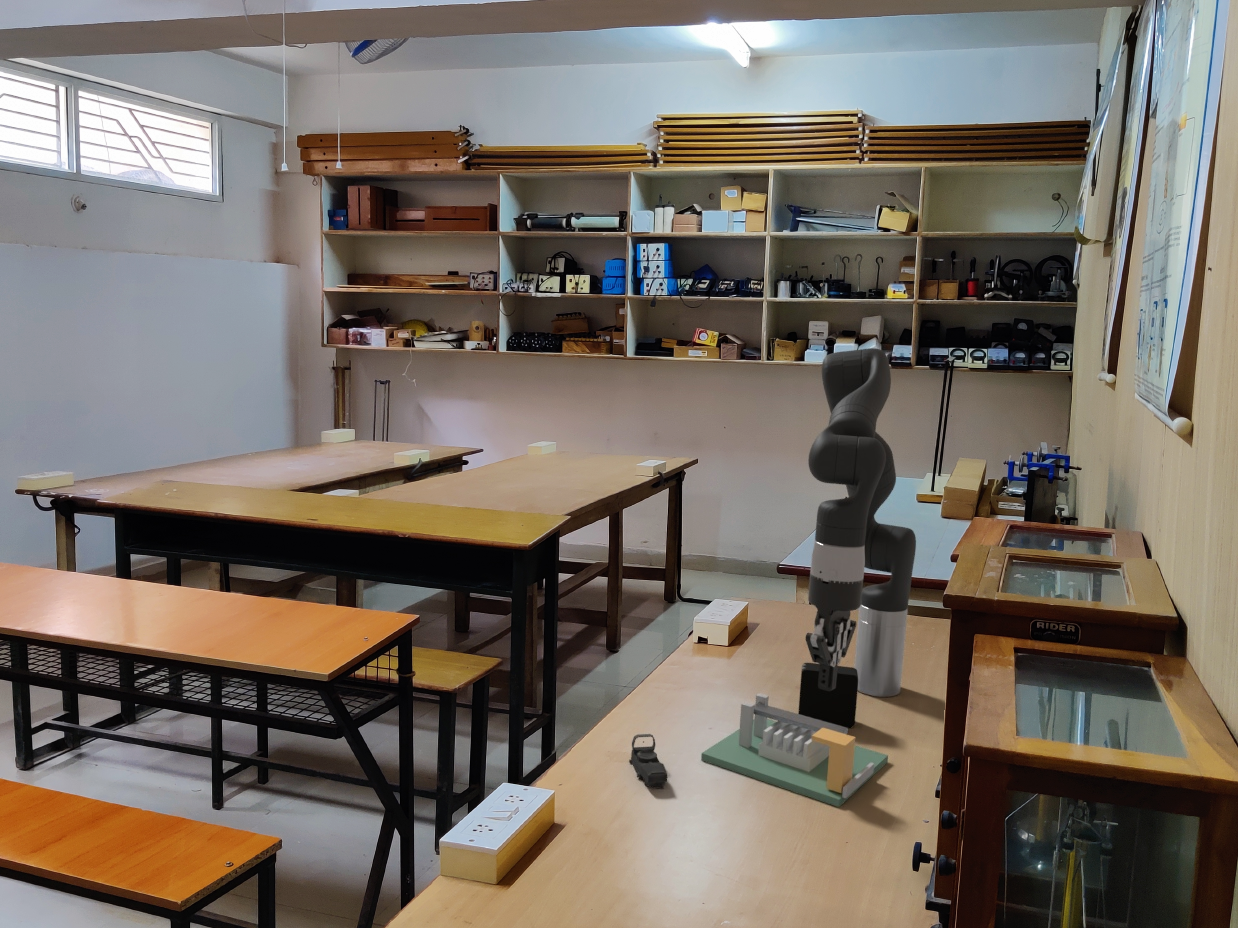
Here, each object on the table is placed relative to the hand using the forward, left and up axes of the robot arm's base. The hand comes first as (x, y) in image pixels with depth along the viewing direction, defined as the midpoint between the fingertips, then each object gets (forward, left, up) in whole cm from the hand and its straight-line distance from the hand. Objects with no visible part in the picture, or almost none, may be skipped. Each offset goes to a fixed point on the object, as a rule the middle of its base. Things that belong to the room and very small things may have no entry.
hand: (826, 688), depth 144 cm
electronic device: (-31, -13, -19) cm, 39 cm away
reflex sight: (+8, -25, -19) cm, 33 cm away
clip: (-6, -1, -17) cm, 18 cm away
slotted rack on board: (-12, -10, -19) cm, 24 cm away
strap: (-12, -10, -12) cm, 20 cm away
